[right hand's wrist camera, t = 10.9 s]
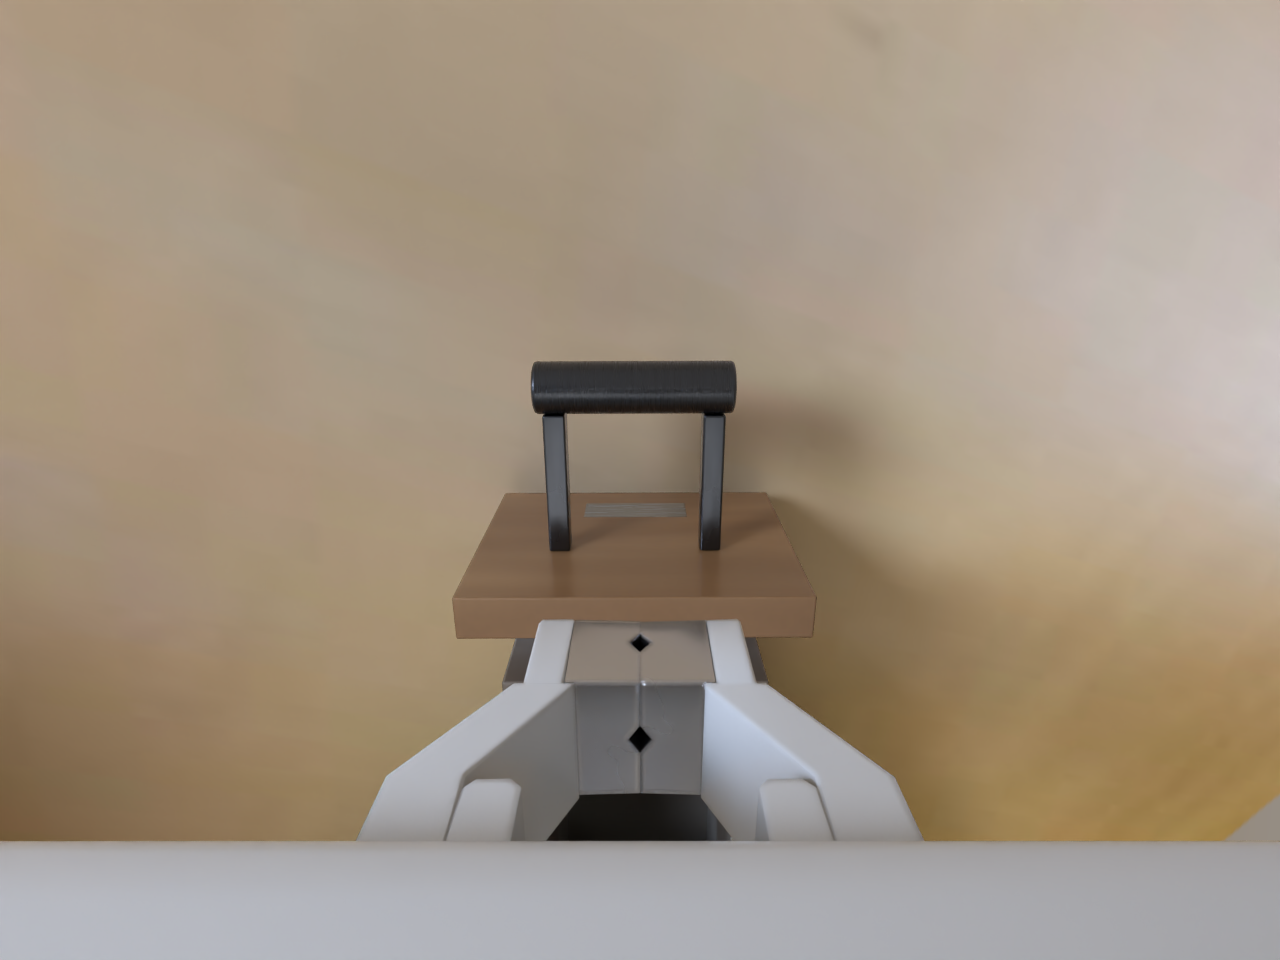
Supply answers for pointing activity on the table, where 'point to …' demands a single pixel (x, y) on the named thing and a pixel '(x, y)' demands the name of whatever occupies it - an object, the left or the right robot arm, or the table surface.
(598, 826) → the drawer
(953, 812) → the table surface
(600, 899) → the right robot arm
